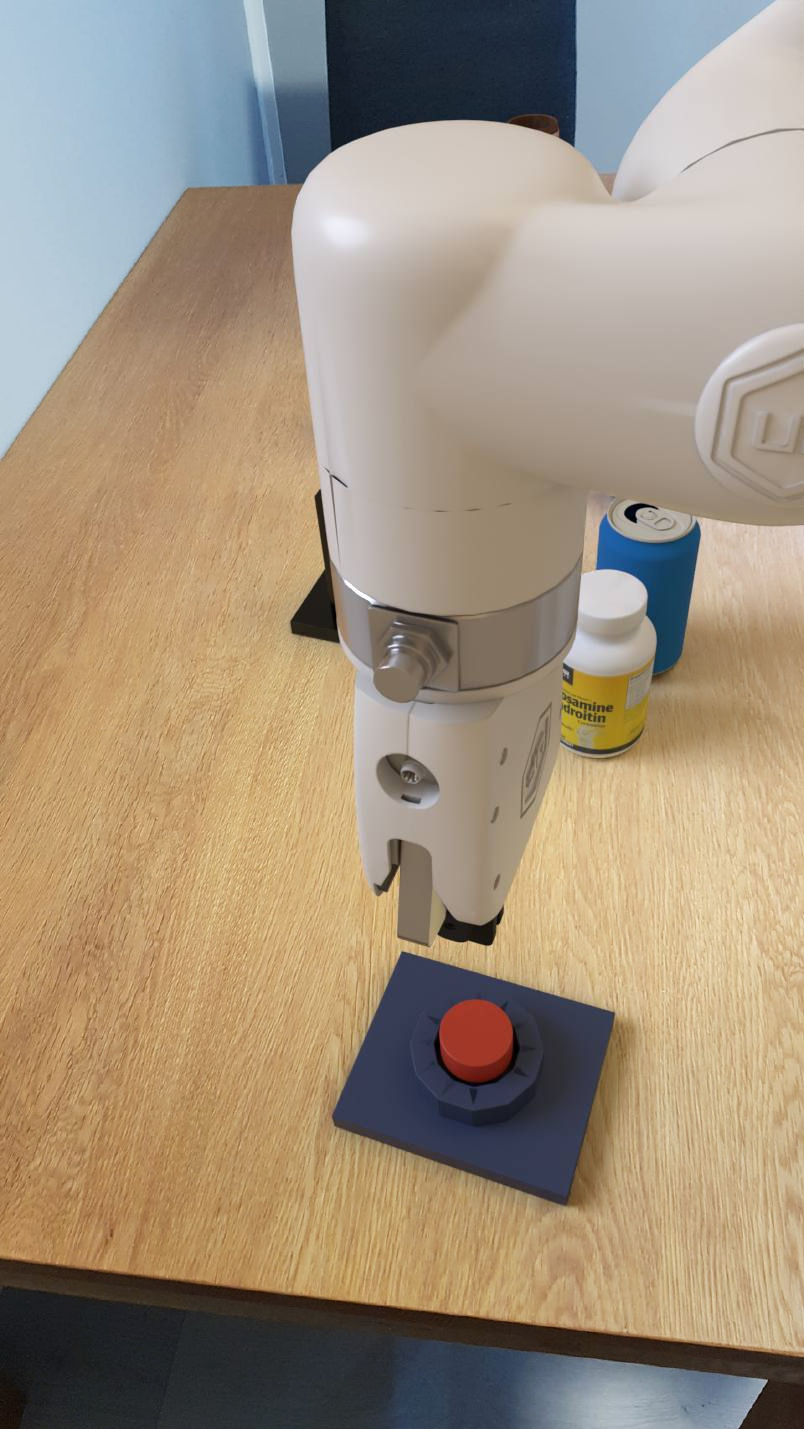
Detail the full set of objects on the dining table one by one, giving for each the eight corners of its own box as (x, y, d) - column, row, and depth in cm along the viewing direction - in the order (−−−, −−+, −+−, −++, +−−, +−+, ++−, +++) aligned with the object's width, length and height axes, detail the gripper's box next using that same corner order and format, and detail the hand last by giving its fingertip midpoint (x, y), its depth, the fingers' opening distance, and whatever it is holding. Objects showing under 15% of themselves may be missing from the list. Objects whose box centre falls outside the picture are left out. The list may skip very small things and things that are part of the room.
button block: (613, 1023, 57) (618, 994, 55) (566, 1206, 51) (569, 1182, 49) (403, 961, 61) (399, 932, 58) (333, 1126, 54) (326, 1099, 52)
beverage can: (631, 612, 80) (647, 474, 72) (700, 654, 77) (725, 513, 68) (570, 652, 78) (579, 514, 69) (638, 697, 74) (656, 557, 65)
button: (521, 1028, 54) (521, 1010, 53) (500, 1092, 52) (500, 1075, 51) (454, 1007, 55) (452, 990, 54) (430, 1070, 53) (429, 1053, 52)
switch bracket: (450, 591, 83) (445, 460, 75) (415, 658, 78) (405, 525, 70) (333, 570, 86) (314, 441, 78) (291, 633, 81) (267, 502, 73)
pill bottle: (528, 715, 74) (531, 581, 65) (607, 681, 75) (620, 547, 67) (582, 777, 69) (593, 642, 61) (664, 739, 71) (685, 603, 63)
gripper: (503, 791, 27) (495, 1111, 40) (630, 473, 37) (590, 814, 50) (236, 726, 29) (311, 1049, 42) (423, 440, 39) (437, 776, 52)
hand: (462, 921), depth 46 cm, fingers closed
